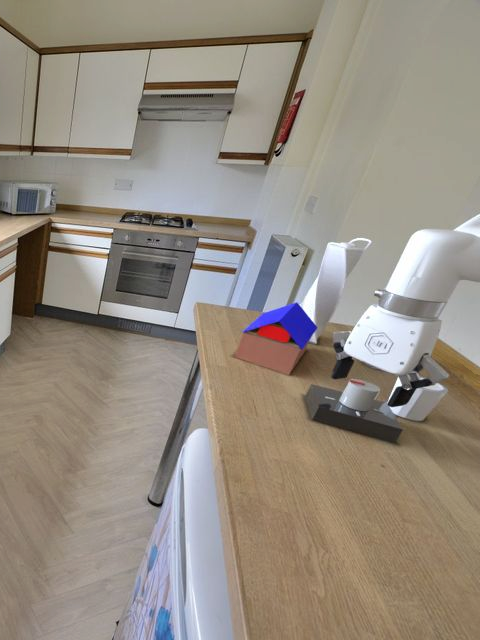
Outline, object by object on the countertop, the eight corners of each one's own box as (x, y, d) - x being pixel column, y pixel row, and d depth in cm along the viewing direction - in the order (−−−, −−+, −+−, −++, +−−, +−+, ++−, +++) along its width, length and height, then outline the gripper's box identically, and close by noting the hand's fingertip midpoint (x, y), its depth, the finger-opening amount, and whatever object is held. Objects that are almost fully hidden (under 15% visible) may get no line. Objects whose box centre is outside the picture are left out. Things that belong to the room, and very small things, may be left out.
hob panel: (379, 415, 80) (387, 402, 79) (395, 443, 73) (404, 429, 71) (305, 395, 86) (311, 383, 84) (312, 419, 78) (319, 406, 77)
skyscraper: (324, 338, 114) (372, 237, 102) (322, 347, 109) (373, 241, 96) (288, 329, 119) (329, 232, 107) (284, 337, 113) (328, 235, 101)
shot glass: (374, 406, 83) (391, 376, 80) (392, 400, 86) (409, 371, 83) (418, 426, 78) (438, 395, 75) (435, 418, 80) (455, 388, 77)
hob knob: (366, 403, 79) (378, 382, 76) (371, 414, 75) (383, 392, 73) (337, 395, 81) (348, 375, 79) (340, 405, 77) (352, 384, 75)
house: (306, 350, 106) (326, 309, 101) (290, 375, 93) (311, 329, 88) (254, 335, 114) (269, 295, 109) (232, 356, 101) (248, 313, 96)
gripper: (340, 290, 76) (304, 370, 83) (461, 326, 61) (404, 421, 68) (370, 288, 77) (333, 367, 85) (495, 323, 62) (436, 415, 70)
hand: (365, 391), depth 76 cm, fingers open, 9 cm apart
